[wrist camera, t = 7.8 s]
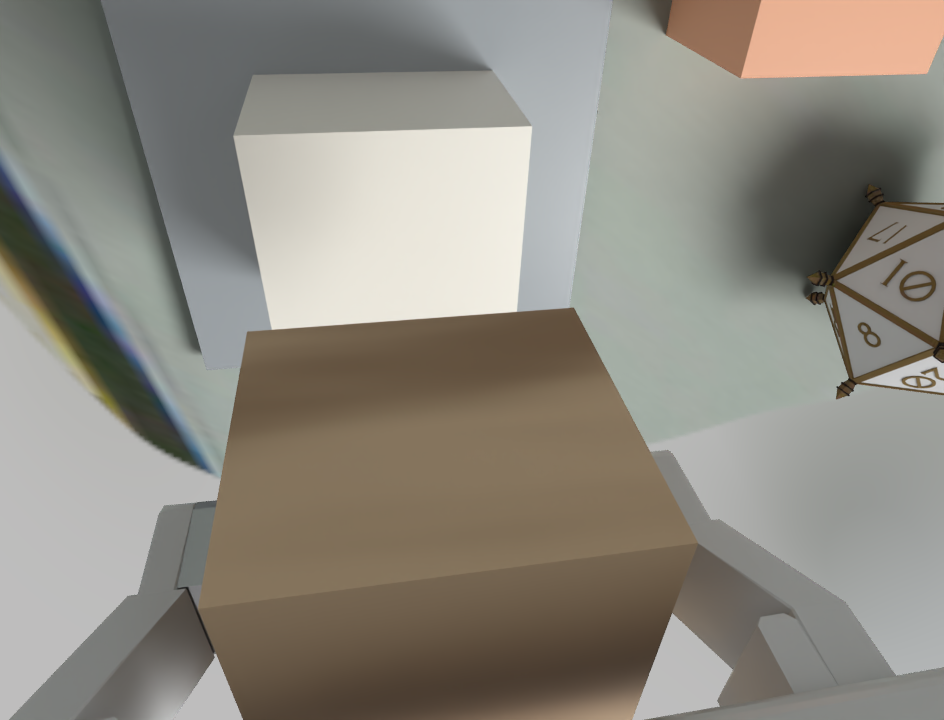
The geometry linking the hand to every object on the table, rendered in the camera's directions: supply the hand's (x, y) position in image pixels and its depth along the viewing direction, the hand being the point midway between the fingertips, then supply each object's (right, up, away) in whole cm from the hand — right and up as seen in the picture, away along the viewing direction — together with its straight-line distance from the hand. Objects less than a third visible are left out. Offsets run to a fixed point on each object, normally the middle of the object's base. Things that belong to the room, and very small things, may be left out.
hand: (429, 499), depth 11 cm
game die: (+17, +7, +16) cm, 25 cm away
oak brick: (0, +1, +1) cm, 2 cm away
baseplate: (-2, +9, +11) cm, 14 cm away
